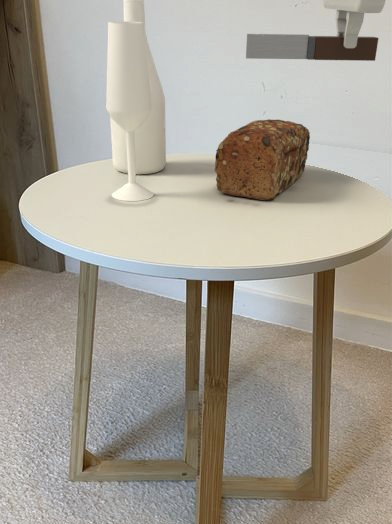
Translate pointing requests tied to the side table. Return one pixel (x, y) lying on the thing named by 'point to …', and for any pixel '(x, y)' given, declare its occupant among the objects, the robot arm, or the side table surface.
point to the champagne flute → (128, 94)
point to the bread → (261, 158)
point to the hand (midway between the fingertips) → (345, 46)
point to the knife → (308, 47)
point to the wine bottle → (153, 128)
